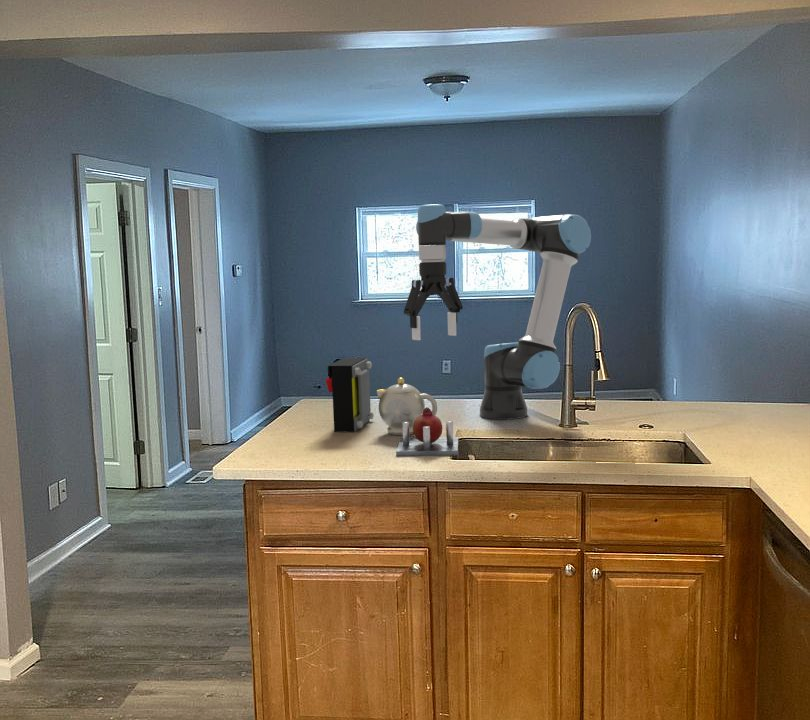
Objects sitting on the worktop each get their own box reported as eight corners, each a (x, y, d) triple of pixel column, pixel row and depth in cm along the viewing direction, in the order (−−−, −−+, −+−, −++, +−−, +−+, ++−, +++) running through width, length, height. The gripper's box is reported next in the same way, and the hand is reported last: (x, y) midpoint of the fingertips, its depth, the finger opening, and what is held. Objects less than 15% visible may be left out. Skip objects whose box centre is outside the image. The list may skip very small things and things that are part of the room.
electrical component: (361, 432, 251) (358, 365, 249) (328, 431, 254) (325, 365, 251) (374, 420, 269) (372, 357, 266) (343, 419, 271) (341, 358, 268)
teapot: (372, 437, 244) (370, 381, 242) (382, 427, 257) (380, 374, 255) (434, 438, 240) (432, 381, 238) (441, 428, 254) (439, 374, 252)
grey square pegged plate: (458, 441, 236) (457, 415, 235) (457, 455, 220) (456, 428, 219) (401, 442, 237) (400, 416, 236) (396, 455, 221) (395, 428, 220)
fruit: (445, 440, 231) (444, 404, 230) (440, 447, 224) (439, 410, 222) (416, 440, 233) (415, 404, 232) (410, 447, 225) (409, 410, 224)
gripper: (455, 259, 244) (457, 333, 247) (389, 262, 228) (391, 341, 231) (474, 259, 239) (475, 334, 242) (407, 262, 223) (409, 342, 226)
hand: (434, 337), depth 236 cm, fingers open, 13 cm apart
